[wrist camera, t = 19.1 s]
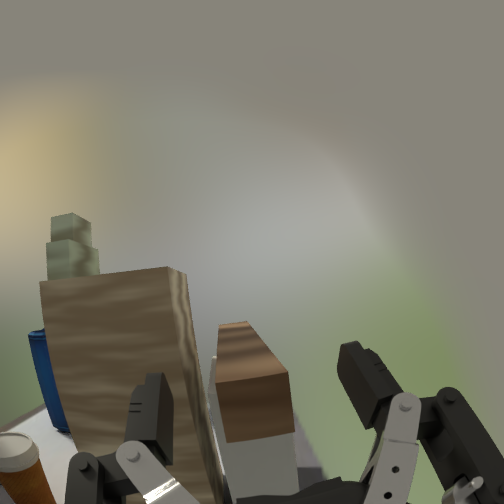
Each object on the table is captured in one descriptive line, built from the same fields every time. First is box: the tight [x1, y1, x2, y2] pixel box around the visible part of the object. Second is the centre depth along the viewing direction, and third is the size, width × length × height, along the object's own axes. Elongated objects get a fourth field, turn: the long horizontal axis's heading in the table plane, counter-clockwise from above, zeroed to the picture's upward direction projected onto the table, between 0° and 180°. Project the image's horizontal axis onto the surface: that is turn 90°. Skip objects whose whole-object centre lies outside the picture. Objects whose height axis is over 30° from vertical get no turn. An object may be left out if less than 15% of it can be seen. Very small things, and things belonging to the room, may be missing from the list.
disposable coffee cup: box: [0, 432, 56, 504], centre depth 19 cm, size 10×10×12 cm
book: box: [28, 328, 70, 432], centre depth 56 cm, size 22×7×25 cm, turn 171°
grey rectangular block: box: [208, 356, 299, 504], centre depth 30 cm, size 15×7×20 cm, turn 5°
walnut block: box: [215, 321, 295, 443], centre depth 27 cm, size 26×4×4 cm, turn 5°
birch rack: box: [39, 213, 224, 504], centre depth 30 cm, size 14×14×39 cm
